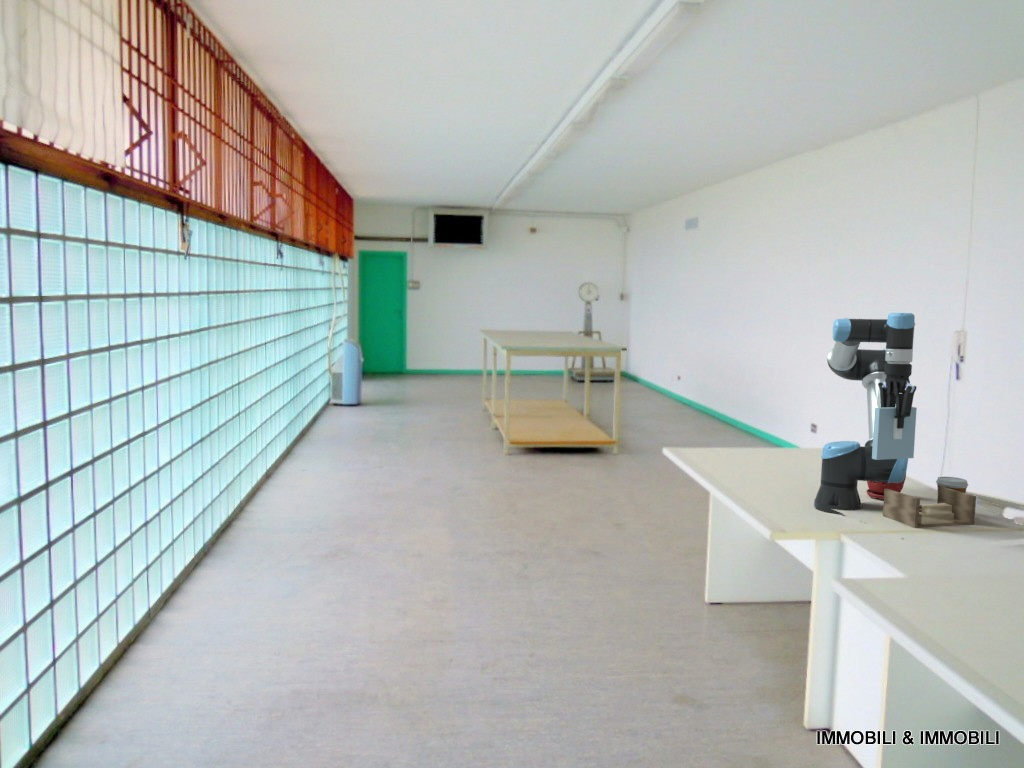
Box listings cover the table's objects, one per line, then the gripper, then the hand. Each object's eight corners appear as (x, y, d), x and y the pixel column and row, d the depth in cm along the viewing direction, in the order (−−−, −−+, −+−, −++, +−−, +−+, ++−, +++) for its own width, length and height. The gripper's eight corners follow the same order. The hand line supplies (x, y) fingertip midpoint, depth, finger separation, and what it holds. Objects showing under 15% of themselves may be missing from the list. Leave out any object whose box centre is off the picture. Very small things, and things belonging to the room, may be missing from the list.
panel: (871, 458, 235) (874, 407, 234) (908, 457, 239) (911, 406, 238) (876, 459, 234) (879, 408, 232) (913, 458, 237) (916, 407, 236)
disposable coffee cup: (973, 517, 252) (975, 482, 251) (947, 518, 251) (950, 482, 249) (952, 510, 261) (954, 476, 260) (927, 510, 260) (929, 476, 259)
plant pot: (864, 499, 275) (866, 467, 274) (865, 492, 287) (866, 461, 285) (905, 504, 269) (907, 470, 268) (903, 496, 281) (905, 464, 280)
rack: (882, 520, 246) (884, 488, 245) (939, 517, 251) (941, 486, 251) (914, 532, 233) (916, 499, 232) (973, 529, 238) (976, 496, 237)
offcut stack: (913, 521, 240) (914, 504, 239) (945, 519, 243) (946, 502, 242) (922, 524, 236) (923, 507, 236) (954, 522, 239) (955, 505, 239)
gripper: (870, 361, 240) (866, 434, 242) (907, 364, 226) (902, 442, 228) (890, 361, 242) (885, 434, 244) (927, 364, 228) (922, 441, 230)
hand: (893, 437), depth 236 cm, fingers closed on panel, 2 cm apart
